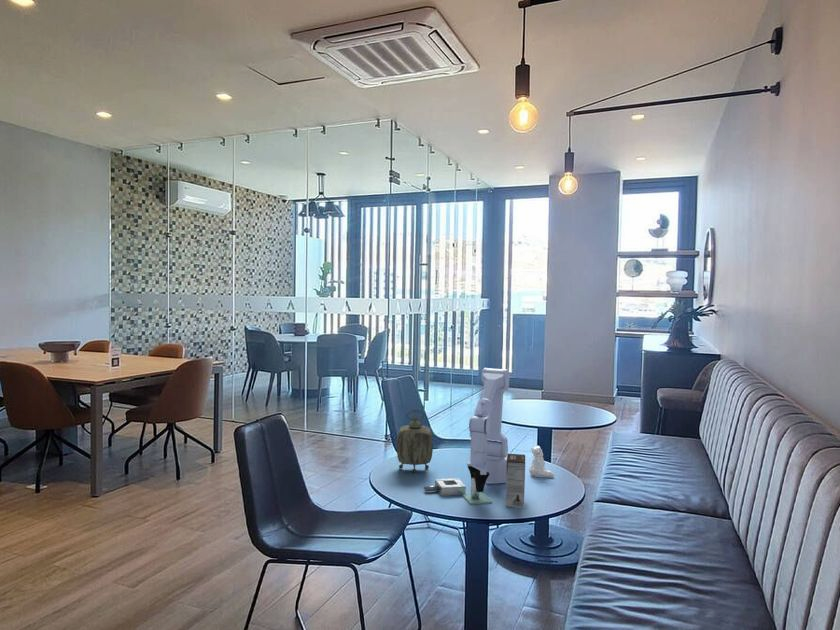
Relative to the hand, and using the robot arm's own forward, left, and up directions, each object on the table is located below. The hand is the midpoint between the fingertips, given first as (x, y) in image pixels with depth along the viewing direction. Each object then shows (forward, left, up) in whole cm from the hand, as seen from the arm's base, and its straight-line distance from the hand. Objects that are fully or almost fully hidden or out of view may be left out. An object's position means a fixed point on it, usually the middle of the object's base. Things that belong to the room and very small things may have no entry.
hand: (477, 488), depth 191 cm
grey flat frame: (+10, -10, -4) cm, 14 cm away
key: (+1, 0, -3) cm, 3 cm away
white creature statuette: (-34, -21, -4) cm, 40 cm away
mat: (0, 0, -4) cm, 4 cm away
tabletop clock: (+15, -34, -4) cm, 37 cm away
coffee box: (-12, +5, -4) cm, 14 cm away
